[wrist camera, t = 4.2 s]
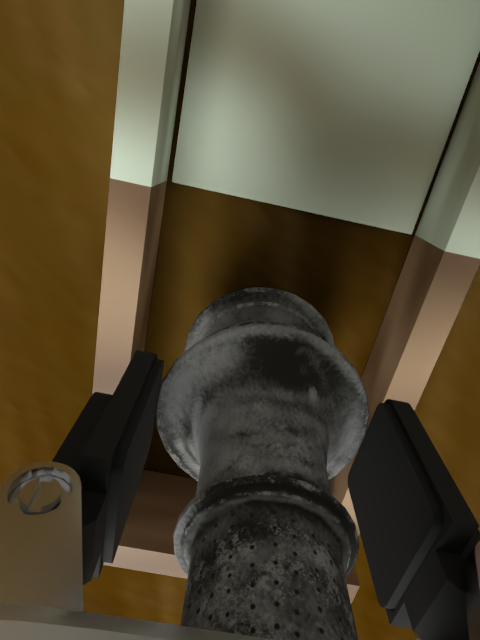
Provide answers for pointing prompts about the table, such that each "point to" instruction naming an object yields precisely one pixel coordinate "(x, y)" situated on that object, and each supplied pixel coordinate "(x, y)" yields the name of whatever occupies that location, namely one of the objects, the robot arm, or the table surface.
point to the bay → (295, 174)
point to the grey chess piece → (264, 468)
